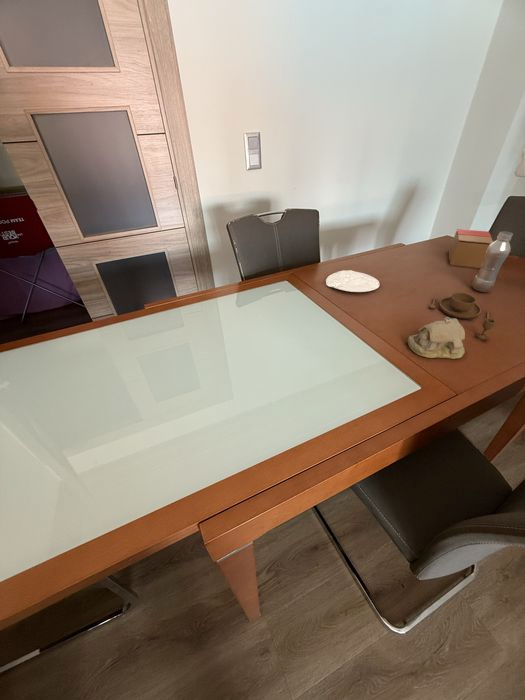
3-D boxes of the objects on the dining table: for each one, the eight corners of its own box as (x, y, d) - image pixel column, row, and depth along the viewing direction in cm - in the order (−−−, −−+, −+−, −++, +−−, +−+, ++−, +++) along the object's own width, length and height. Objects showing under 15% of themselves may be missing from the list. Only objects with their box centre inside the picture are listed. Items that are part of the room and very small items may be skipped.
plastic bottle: (472, 293, 107) (498, 236, 94) (467, 284, 112) (491, 229, 99) (493, 295, 105) (522, 237, 93) (487, 286, 110) (513, 230, 98)
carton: (448, 252, 135) (456, 229, 129) (479, 255, 131) (489, 231, 125) (449, 264, 125) (458, 240, 119) (482, 268, 122) (493, 243, 115)
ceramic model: (445, 333, 90) (458, 304, 84) (471, 357, 81) (487, 327, 75) (401, 339, 89) (410, 310, 82) (422, 364, 80) (434, 334, 74)
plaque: (357, 300, 106) (358, 296, 105) (315, 282, 118) (315, 279, 117) (389, 283, 116) (390, 279, 115) (347, 268, 128) (348, 265, 127)
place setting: (490, 308, 99) (498, 292, 95) (489, 341, 86) (498, 324, 82) (432, 296, 106) (437, 281, 103) (423, 325, 93) (428, 309, 90)
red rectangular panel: (456, 230, 129) (457, 229, 129) (488, 232, 125) (489, 231, 125) (457, 235, 124) (458, 234, 124) (490, 237, 120) (491, 236, 120)
